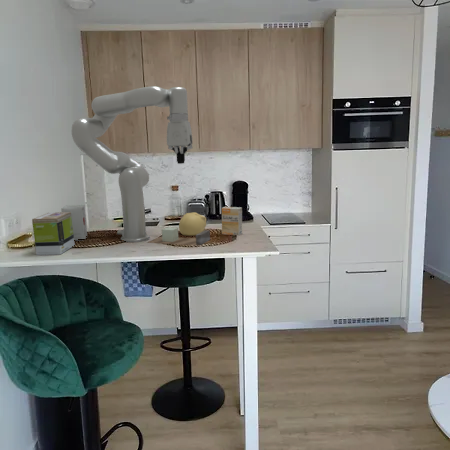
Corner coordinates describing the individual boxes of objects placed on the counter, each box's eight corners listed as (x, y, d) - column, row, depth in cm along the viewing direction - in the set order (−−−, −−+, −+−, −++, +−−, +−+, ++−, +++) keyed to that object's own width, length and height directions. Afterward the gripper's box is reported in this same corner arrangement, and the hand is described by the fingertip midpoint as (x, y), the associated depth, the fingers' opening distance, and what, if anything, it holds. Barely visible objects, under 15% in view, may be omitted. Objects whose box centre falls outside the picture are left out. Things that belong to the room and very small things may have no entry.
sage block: (162, 241, 179) (161, 229, 178) (167, 238, 183) (167, 227, 182) (173, 241, 177) (172, 230, 176) (178, 239, 182) (177, 227, 181)
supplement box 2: (221, 236, 190) (220, 207, 188) (225, 234, 195) (224, 206, 192) (239, 237, 187) (238, 208, 185) (242, 235, 192) (242, 206, 189)
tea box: (52, 246, 180) (48, 211, 177) (75, 246, 180) (72, 211, 177) (35, 255, 165) (31, 218, 163) (60, 255, 165) (57, 217, 162)
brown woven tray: (146, 244, 178) (146, 233, 177) (160, 238, 189) (159, 227, 188) (199, 248, 170) (199, 235, 169) (211, 241, 181) (210, 229, 180)
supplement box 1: (84, 240, 191) (81, 207, 188) (63, 241, 189) (60, 208, 186) (87, 236, 199) (85, 204, 197) (67, 237, 198) (64, 205, 195)
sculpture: (210, 234, 197) (209, 211, 195) (196, 239, 186) (195, 215, 184) (189, 232, 202) (188, 210, 200) (174, 237, 192) (173, 213, 190)
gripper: (158, 119, 176) (160, 164, 179) (191, 117, 171) (193, 163, 174) (166, 119, 182) (169, 163, 186) (199, 118, 177) (200, 162, 181)
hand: (180, 163), depth 180 cm, fingers closed
